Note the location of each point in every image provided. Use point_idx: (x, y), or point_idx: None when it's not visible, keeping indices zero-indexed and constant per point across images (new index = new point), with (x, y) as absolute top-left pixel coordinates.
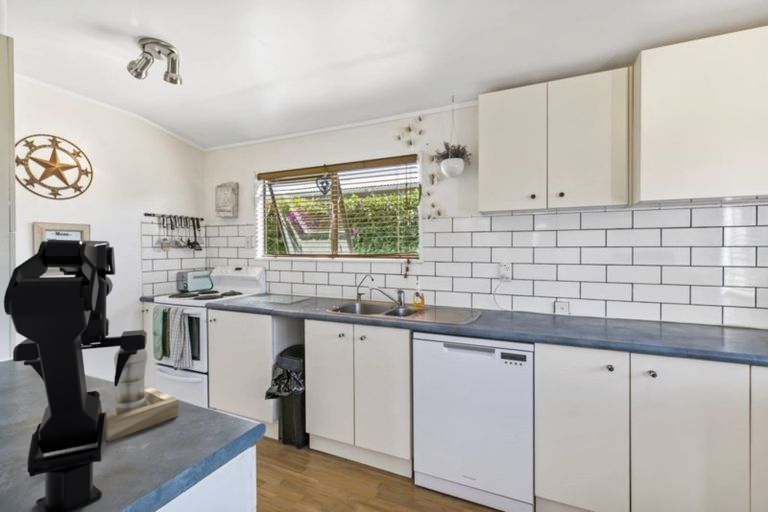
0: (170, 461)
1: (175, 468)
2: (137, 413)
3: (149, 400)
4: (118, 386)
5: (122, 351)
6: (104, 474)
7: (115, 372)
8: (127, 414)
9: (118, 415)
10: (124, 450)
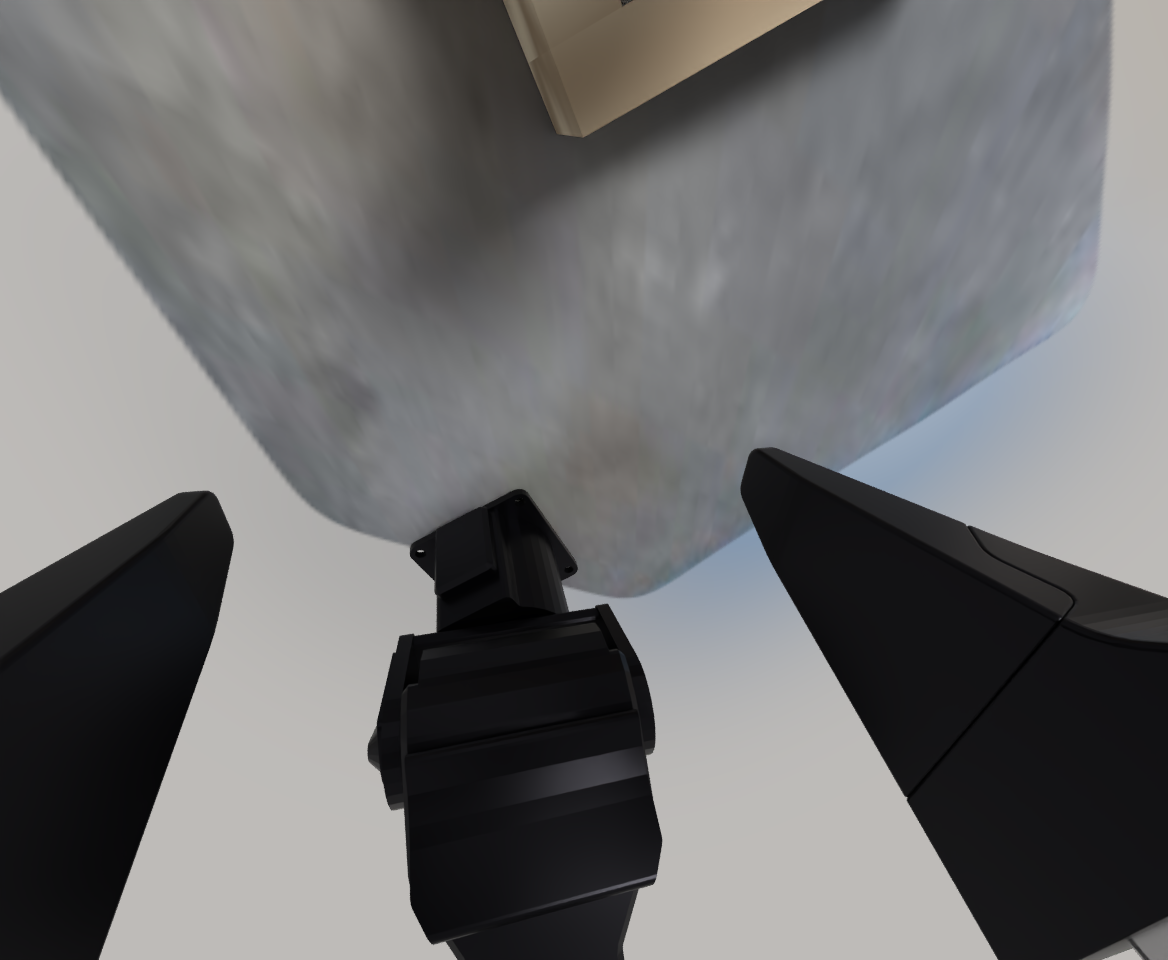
0: None
1: None
2: (756, 37)
3: None
4: None
5: (1130, 943)
6: (569, 456)
7: (823, 653)
8: (696, 29)
9: (637, 3)
10: (629, 295)
